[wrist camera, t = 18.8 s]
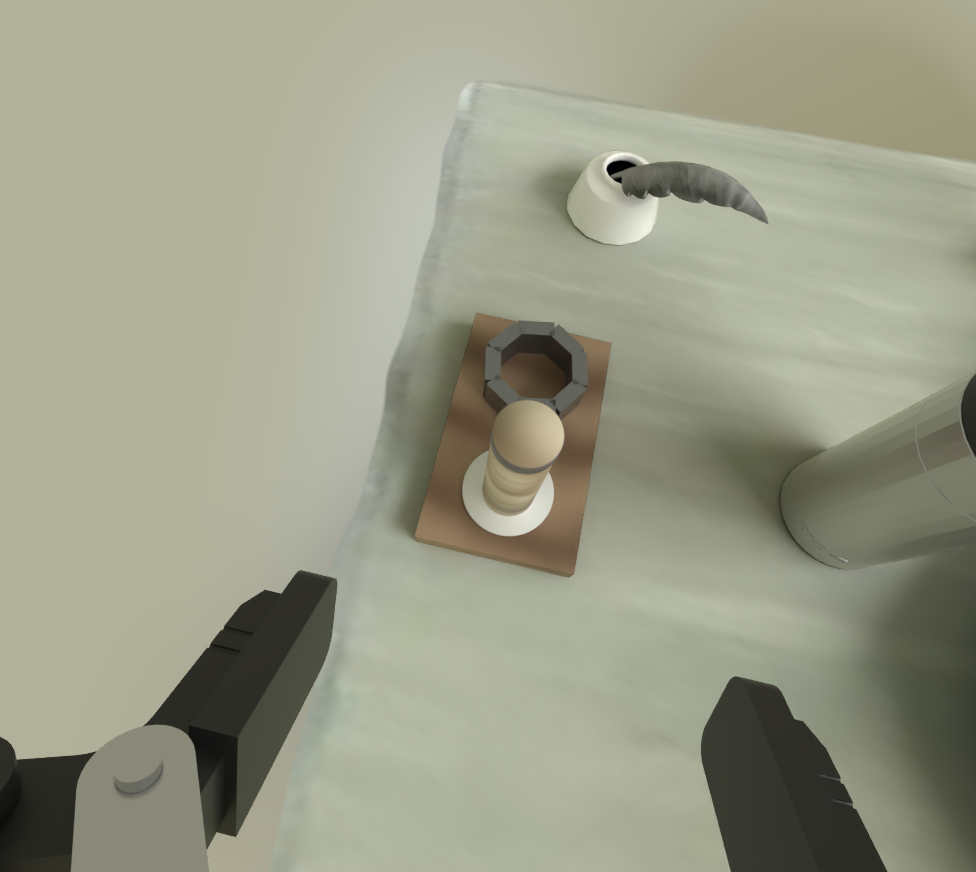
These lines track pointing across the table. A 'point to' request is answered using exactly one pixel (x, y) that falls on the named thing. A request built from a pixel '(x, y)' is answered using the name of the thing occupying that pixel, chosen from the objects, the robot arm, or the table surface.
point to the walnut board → (470, 438)
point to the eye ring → (537, 342)
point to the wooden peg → (520, 455)
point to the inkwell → (645, 194)
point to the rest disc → (499, 522)
